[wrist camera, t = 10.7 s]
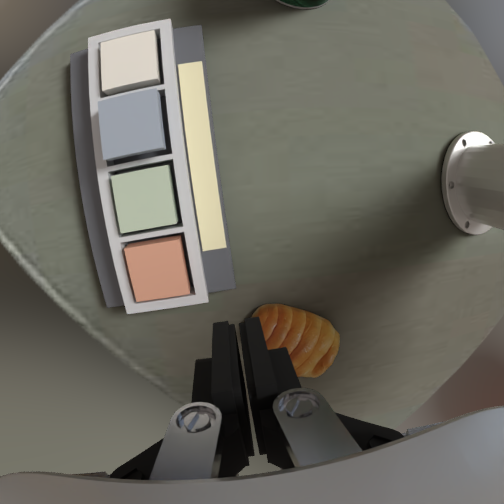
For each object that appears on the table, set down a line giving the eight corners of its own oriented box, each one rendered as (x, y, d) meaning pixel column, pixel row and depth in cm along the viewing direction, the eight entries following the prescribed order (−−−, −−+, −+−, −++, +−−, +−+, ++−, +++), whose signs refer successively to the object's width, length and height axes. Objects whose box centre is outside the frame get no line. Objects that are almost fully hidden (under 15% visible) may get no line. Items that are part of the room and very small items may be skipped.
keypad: (201, 31, 23) (201, 14, 20) (234, 282, 29) (238, 297, 26) (76, 59, 22) (61, 46, 18) (111, 301, 28) (100, 317, 25)
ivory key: (157, 38, 21) (154, 30, 19) (160, 84, 22) (157, 78, 20) (106, 50, 20) (100, 42, 19) (108, 95, 21) (102, 90, 20)
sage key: (170, 165, 24) (167, 164, 22) (178, 220, 25) (176, 223, 23) (117, 175, 23) (110, 176, 21) (126, 229, 24) (120, 233, 23)
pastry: (231, 337, 31) (236, 357, 27) (271, 283, 30) (280, 298, 27) (302, 372, 33) (313, 392, 30) (340, 325, 33) (355, 342, 29)
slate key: (159, 93, 21) (156, 87, 19) (166, 149, 22) (163, 147, 20) (104, 106, 20) (97, 101, 19) (110, 160, 22) (103, 159, 20)
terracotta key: (181, 234, 25) (179, 239, 23) (190, 286, 26) (189, 294, 25) (129, 243, 25) (123, 248, 23) (140, 293, 26) (136, 302, 24)
